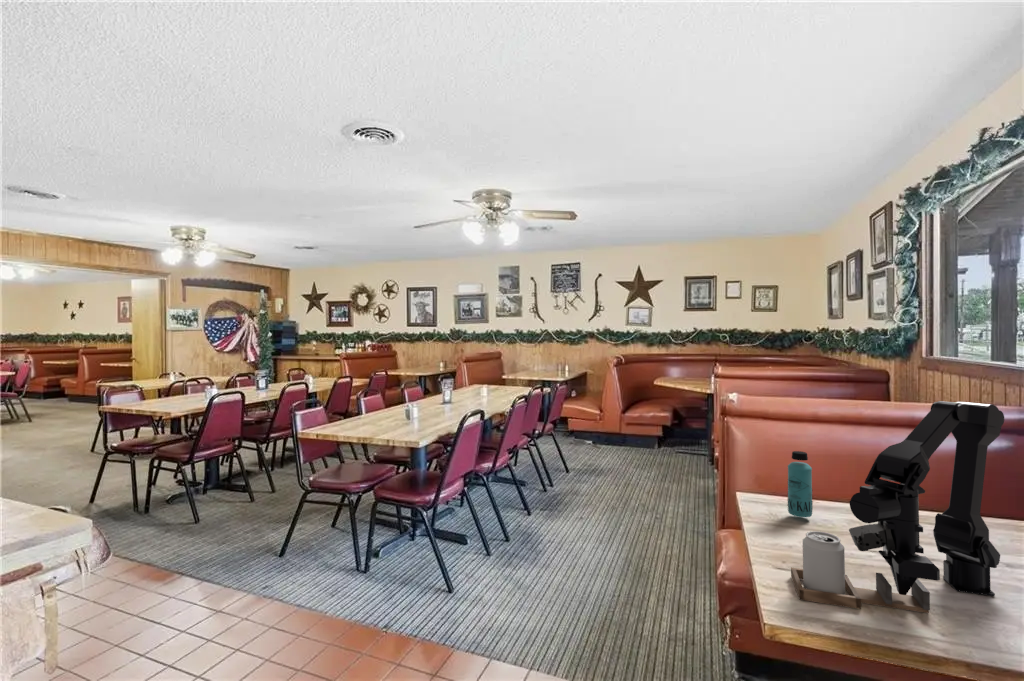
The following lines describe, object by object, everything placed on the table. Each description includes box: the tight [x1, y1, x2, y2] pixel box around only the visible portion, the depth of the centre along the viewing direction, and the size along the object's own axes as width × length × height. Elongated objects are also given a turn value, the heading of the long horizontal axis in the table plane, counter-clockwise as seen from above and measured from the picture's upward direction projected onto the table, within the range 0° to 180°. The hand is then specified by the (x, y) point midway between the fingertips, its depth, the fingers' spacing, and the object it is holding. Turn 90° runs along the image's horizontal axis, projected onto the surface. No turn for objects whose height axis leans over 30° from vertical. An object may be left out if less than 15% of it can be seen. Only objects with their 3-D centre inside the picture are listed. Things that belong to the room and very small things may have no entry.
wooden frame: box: [790, 567, 931, 614], centre depth 101 cm, size 22×11×4 cm, turn 68°
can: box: [802, 530, 846, 595], centre depth 103 cm, size 8×8×12 cm
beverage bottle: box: [786, 450, 814, 518], centre depth 146 cm, size 6×7×20 cm
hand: (901, 594), depth 98 cm, fingers closed
